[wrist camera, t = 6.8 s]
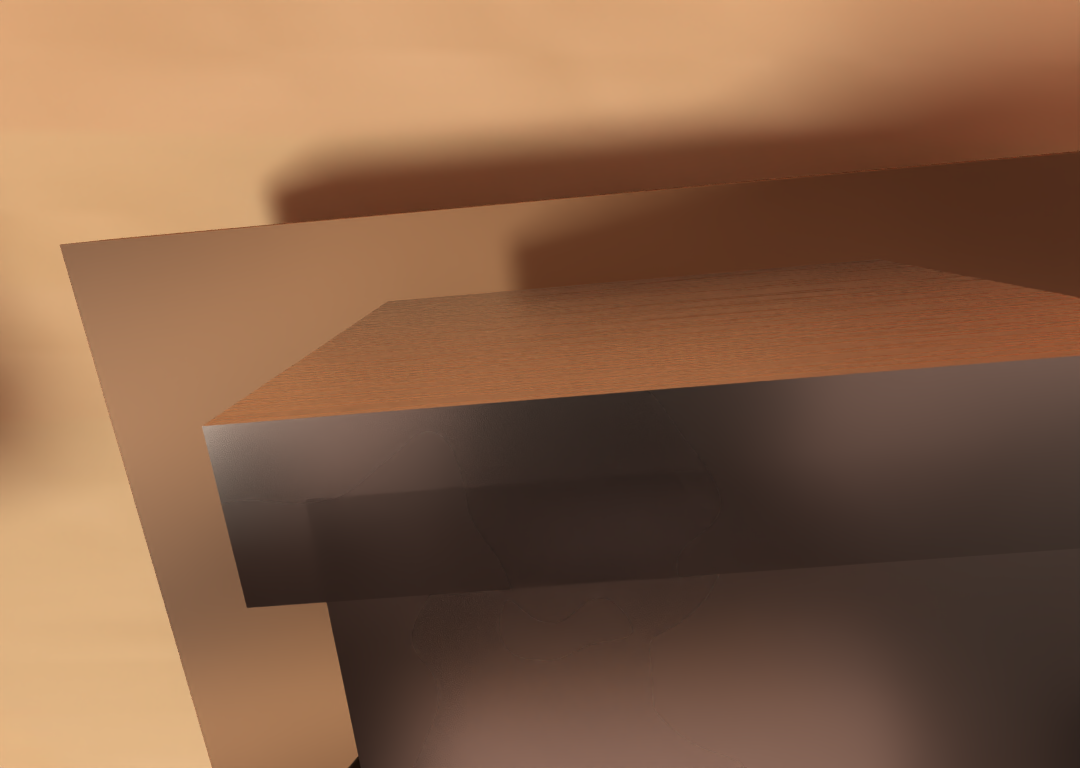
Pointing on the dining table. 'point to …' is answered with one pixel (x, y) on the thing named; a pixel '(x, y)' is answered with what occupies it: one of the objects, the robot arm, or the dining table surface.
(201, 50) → the dining table surface
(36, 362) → the dining table surface
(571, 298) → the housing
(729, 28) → the dining table surface
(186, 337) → the stand
